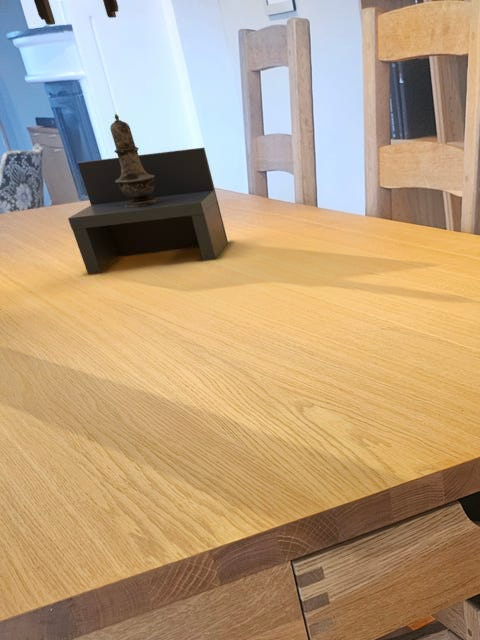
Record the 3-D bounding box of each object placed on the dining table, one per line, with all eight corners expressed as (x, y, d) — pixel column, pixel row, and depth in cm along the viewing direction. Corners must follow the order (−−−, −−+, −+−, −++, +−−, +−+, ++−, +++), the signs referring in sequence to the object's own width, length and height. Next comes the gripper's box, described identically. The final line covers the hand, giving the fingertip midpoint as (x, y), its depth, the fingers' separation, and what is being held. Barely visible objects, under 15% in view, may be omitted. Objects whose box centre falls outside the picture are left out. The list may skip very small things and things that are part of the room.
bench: (87, 274, 129) (51, 172, 121) (110, 256, 140) (79, 162, 132) (215, 259, 130) (189, 156, 121) (228, 242, 141) (204, 147, 133)
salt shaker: (153, 199, 133) (127, 111, 126) (167, 201, 129) (142, 110, 122) (117, 206, 130) (89, 116, 123) (131, 208, 126) (103, 116, 119)
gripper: (98, -137, 109) (138, 16, 119) (-11, -126, 109) (39, 27, 118) (82, -148, 103) (126, 14, 113) (-33, -136, 103) (20, 25, 112)
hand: (81, 20), depth 116 cm, fingers open, 8 cm apart
